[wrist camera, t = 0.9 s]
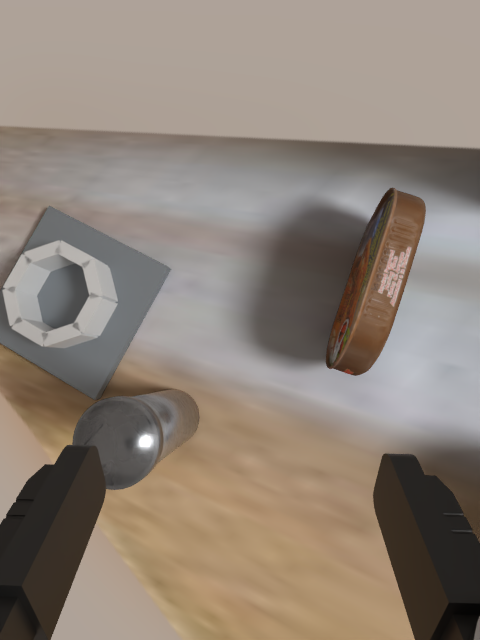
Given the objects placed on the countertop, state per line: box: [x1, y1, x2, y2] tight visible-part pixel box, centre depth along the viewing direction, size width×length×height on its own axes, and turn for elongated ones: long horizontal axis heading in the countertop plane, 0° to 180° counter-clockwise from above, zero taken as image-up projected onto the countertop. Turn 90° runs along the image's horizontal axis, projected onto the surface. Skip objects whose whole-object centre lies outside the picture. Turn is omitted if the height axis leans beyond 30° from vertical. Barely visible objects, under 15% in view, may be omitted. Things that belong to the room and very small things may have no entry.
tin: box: [326, 188, 426, 376], centre depth 30 cm, size 15×3×8 cm, turn 160°
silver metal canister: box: [73, 389, 199, 490], centre depth 29 cm, size 5×5×12 cm
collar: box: [0, 206, 171, 400], centre depth 35 cm, size 14×14×4 cm
